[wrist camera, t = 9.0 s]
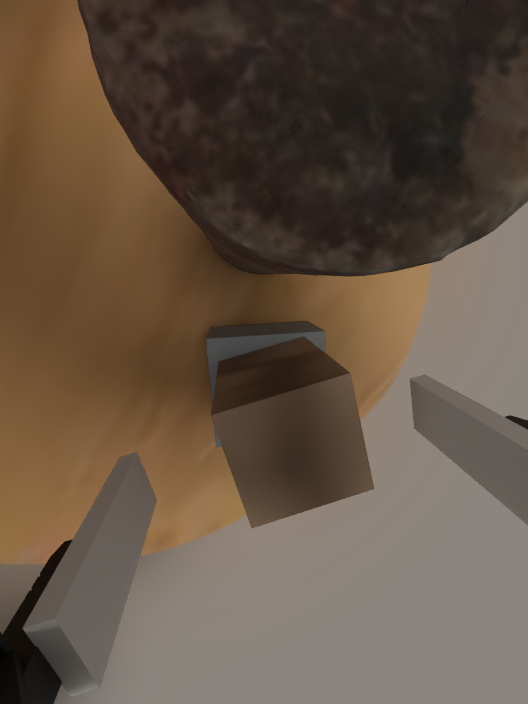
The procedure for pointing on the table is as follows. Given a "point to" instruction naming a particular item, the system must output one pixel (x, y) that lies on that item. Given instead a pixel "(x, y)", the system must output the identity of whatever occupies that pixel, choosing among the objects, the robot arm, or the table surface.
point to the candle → (324, 122)
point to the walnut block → (289, 430)
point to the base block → (253, 342)
